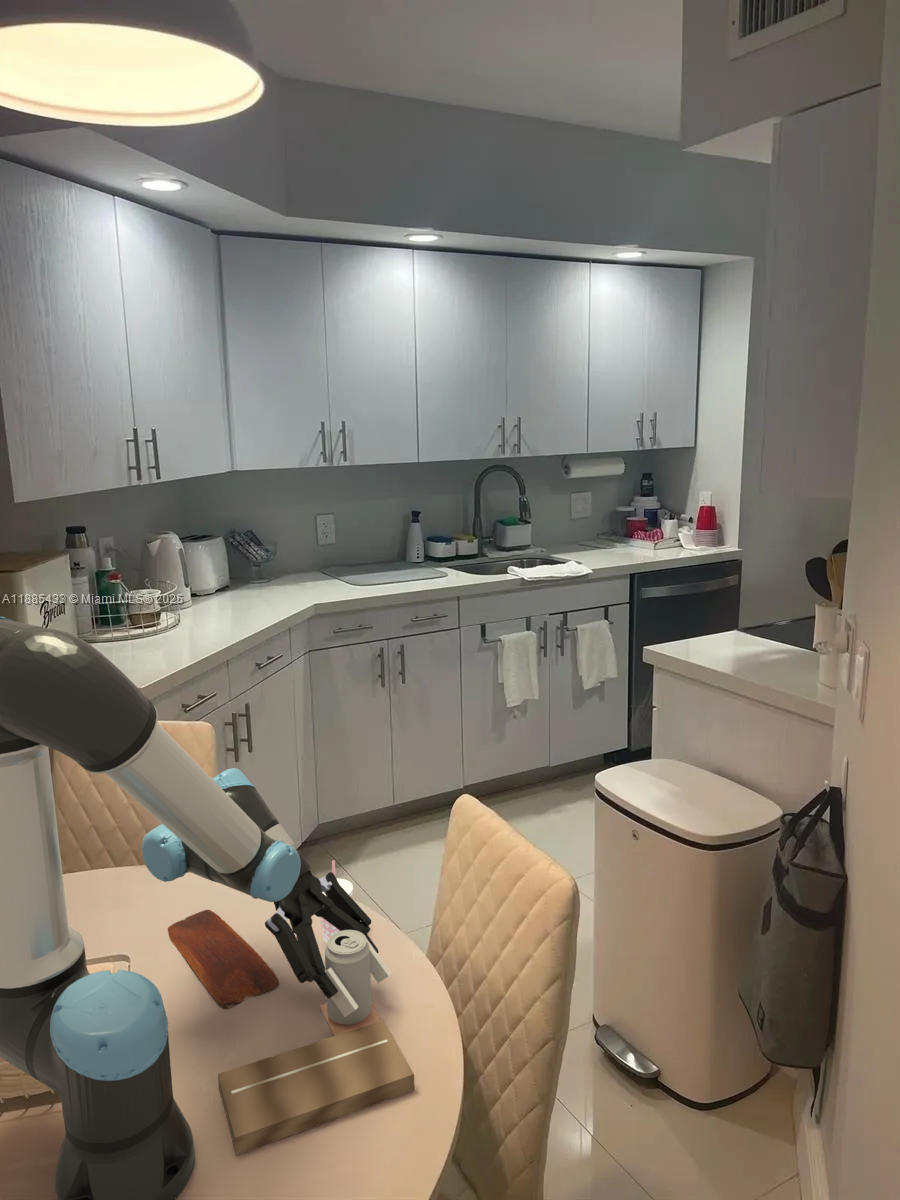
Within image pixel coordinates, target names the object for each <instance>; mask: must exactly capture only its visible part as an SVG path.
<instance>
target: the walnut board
mask: <svg viewBox="0 0 900 1200" xmlns="http://www.w3.org/2000/svg"><path fill="white" fill-rule="evenodd" d="M409 1064H410V1063H408V1061H407V1059H406V1057H405V1056H404V1054H403V1052H402V1050H401V1049H400V1047H399V1045H398V1042H396V1040H395V1038H394V1036H393V1034H392V1032H391V1031H390V1028H389V1027H388V1025H387V1024H386V1021H385V1020H384V1019H383V1020H381V1021H380V1022H377V1023H373V1024H370V1025H367V1026H364V1027H361V1028H358V1029H355V1030H352V1031H349V1032H346V1033H342V1034H339V1035H336V1036H333V1035H332V1036H330V1037H328V1038H324V1039H321V1040H318V1041H315V1042H312V1043H309V1044H306V1045H303V1046H299V1047H297V1048H293V1049H290V1050H288V1051H283V1052H280V1053H278V1054H275V1055H272V1056H269V1057H266V1058H263V1059H260V1060H256V1061H253V1062H249V1063H247V1064H244V1065H241V1066H238V1067H235V1068H231V1069H227V1070H225V1071H222V1072H219V1073H217V1081H218V1083H217V1084H218V1091H219V1096H220V1100H221V1099H222V1100H221V1102H222V1107H223V1110H224V1114H226V1115H225V1118H226V1121H227V1125H228V1129H229V1130H228V1131H229V1133H230V1137H231V1140H232V1144H233V1148H234V1151H235V1154H236V1156H238V1155H241V1154H243V1153H247V1152H248V1151H252V1150H254V1149H256V1148H260V1147H263V1146H265V1145H268V1144H271V1143H273V1142H277V1141H278V1140H281V1139H282V1140H283V1139H284V1138H287V1137H290V1136H293V1135H295V1134H298V1133H301V1132H303V1131H306V1130H309V1129H313V1128H315V1127H317V1126H320V1125H323V1124H325V1123H326V1124H327V1123H328V1122H331V1121H334V1120H336V1119H339V1118H342V1117H345V1116H348V1115H350V1114H354V1113H355V1112H358V1111H361V1110H362V1111H363V1110H364V1109H366V1108H369V1107H373V1106H375V1105H378V1104H380V1103H381V1104H382V1103H383V1102H386V1101H389V1100H391V1099H395V1098H397V1097H400V1096H402V1095H403V1096H404V1095H405V1094H409V1093H411V1092H413V1091H415V1074H414V1071H413V1070H412V1067H411V1066H410V1065H409Z"/></svg>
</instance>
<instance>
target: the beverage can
mask: <svg viewBox="0 0 900 1200" xmlns="http://www.w3.org/2000/svg"><path fill="white" fill-rule="evenodd" d="M324 963H325V964H324V966H325V971H326V970H328V969H329V968H330V967H331V968H332V970H333V971H334V973H335V974H336V975H337V977H338V978H339V980H340V981H341V983H342V984H343V985H344V987H345V988H346V990H347V991H348V992H349V994H350V995H351V997H352V998H353V1000H354V1001H355V1002H356V1004H357V1005H358V1008H357V1009H356V1010H355V1011H353V1012H352V1013H350V1014H349V1015H347V1016H346V1017H344V1016H343V1014H342V1013H341V1011H340V1010H339V1008H338V1007H337V1006H336V1004H335V1003H334V1001H333V1000H332V998H329V999H328V998H327V997H326V1004H327V1012H328V1015H329V1017H330V1018H331V1019H332V1020H333V1021H334V1022H336V1023H339V1024H342V1025H354V1024H357V1023H359V1022H361V1021H362V1020H364V1019H365V1018H366V1017H367V1016H368V1015H369V1013H370V1011H371V1004H372V992H371V991H372V990H371V989H372V988H371V987H372V985H371V973H370V947H369V944H368V942H367V939H366V936H365V935H364V934H363V933H361V932H359V931H355V930H343V931H339V932H337V933H335V934H333V935H332V936H331V937H330V938H329V939H328V941H327V943H326V946H325V949H324Z"/></svg>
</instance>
